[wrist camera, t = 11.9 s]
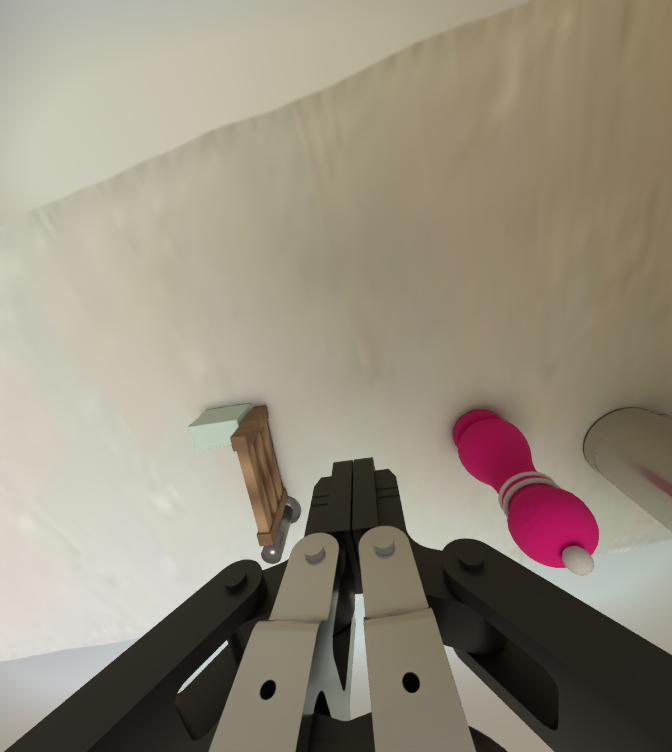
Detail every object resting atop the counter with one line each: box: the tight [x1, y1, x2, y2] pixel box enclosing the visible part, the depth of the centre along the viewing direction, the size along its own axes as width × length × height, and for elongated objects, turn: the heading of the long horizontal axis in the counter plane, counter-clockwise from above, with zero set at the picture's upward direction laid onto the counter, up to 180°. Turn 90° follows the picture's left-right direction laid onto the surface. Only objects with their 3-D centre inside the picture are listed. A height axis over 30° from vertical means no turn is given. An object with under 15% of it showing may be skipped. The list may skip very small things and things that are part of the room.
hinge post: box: [261, 496, 301, 564], centre depth 42 cm, size 4×4×8 cm
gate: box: [230, 406, 287, 546], centre depth 39 cm, size 14×2×8 cm, turn 9°
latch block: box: [187, 403, 252, 450], centre depth 40 cm, size 6×3×5 cm, turn 101°
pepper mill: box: [453, 410, 599, 575], centre depth 31 cm, size 7×7×20 cm
